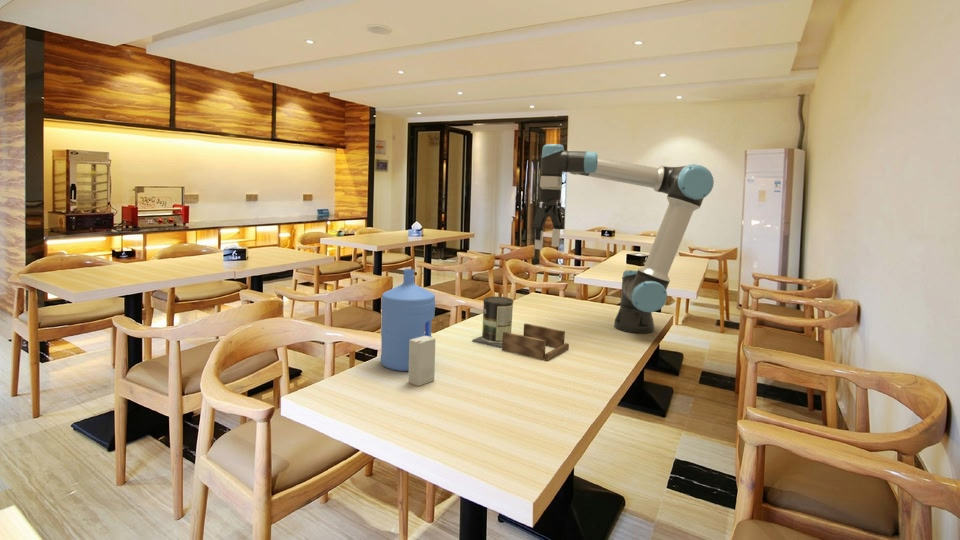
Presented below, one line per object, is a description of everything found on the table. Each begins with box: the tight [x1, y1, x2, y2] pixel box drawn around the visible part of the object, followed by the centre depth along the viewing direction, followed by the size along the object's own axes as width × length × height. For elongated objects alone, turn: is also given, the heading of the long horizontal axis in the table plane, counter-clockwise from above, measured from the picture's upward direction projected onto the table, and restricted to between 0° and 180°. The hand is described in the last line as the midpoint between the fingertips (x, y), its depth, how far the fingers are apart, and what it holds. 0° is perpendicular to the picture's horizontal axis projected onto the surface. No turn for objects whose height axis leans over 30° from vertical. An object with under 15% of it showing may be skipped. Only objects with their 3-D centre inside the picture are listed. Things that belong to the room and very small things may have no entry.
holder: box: [501, 323, 570, 362], centre depth 172 cm, size 17×15×6 cm
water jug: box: [380, 268, 436, 372], centre depth 153 cm, size 16×16×28 cm
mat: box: [472, 335, 502, 349], centre depth 181 cm, size 12×12×1 cm
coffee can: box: [481, 296, 514, 344], centre depth 180 cm, size 10×10×14 cm
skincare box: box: [407, 336, 436, 387], centre depth 140 cm, size 6×4×12 cm
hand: (547, 247), depth 190 cm, fingers open, 13 cm apart
